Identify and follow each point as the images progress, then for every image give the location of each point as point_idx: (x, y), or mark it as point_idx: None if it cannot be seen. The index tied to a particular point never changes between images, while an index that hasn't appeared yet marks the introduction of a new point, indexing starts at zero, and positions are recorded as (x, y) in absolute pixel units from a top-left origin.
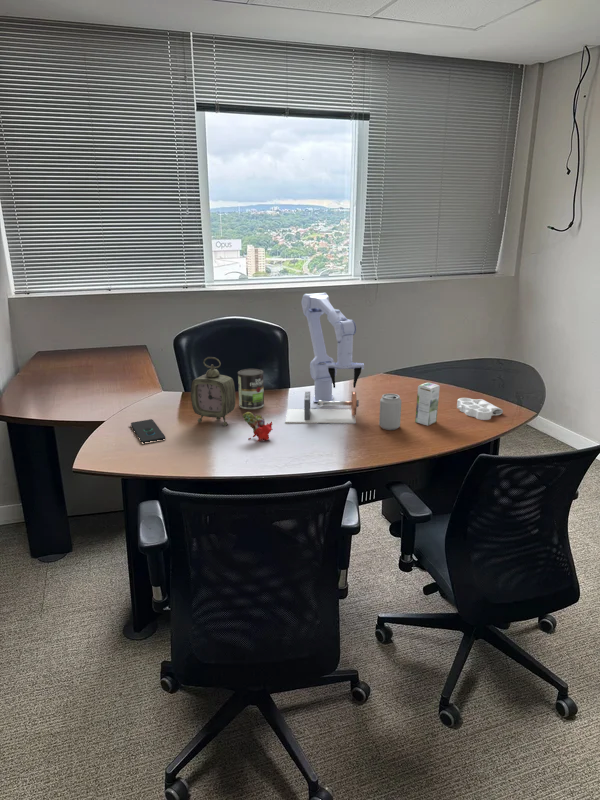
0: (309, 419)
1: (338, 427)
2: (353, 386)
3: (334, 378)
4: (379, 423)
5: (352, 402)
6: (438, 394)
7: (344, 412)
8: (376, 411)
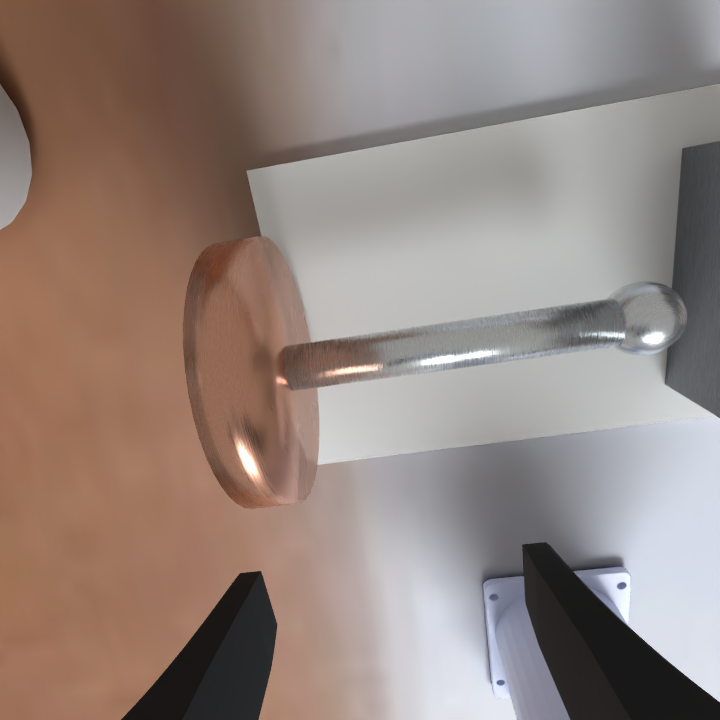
0: (688, 147)
1: (391, 36)
2: (263, 598)
3: (614, 679)
4: (7, 113)
5: (247, 254)
6: None
7: (376, 391)
8: (153, 471)
